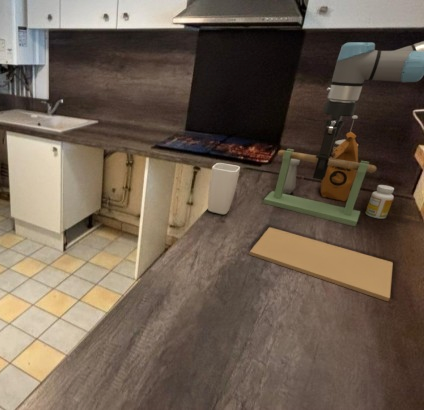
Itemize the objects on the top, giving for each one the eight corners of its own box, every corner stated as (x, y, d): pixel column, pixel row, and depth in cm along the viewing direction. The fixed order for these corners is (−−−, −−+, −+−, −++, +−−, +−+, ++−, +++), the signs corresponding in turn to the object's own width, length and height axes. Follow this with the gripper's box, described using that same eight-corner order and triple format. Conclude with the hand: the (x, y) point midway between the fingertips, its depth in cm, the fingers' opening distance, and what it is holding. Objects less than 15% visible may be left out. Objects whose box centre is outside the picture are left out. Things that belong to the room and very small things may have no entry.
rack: (358, 215, 113) (378, 161, 106) (355, 226, 106) (376, 168, 99) (271, 195, 128) (283, 145, 121) (263, 203, 121) (275, 151, 114)
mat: (391, 265, 87) (392, 262, 86) (388, 302, 74) (390, 298, 74) (268, 230, 103) (269, 227, 103) (248, 254, 91) (249, 251, 90)
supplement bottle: (384, 214, 115) (395, 186, 111) (387, 220, 110) (398, 191, 107) (364, 210, 117) (374, 182, 113) (365, 216, 113) (376, 187, 109)
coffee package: (314, 196, 128) (333, 135, 119) (319, 186, 137) (336, 129, 128) (348, 203, 123) (369, 140, 114) (350, 193, 132) (371, 133, 123)
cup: (203, 212, 114) (210, 167, 108) (209, 204, 119) (217, 162, 113) (226, 218, 110) (236, 172, 104) (232, 210, 116) (241, 166, 110)
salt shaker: (277, 187, 135) (285, 154, 130) (294, 190, 133) (303, 157, 127) (275, 192, 131) (284, 158, 125) (293, 195, 128) (302, 161, 123)
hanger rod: (375, 172, 104) (377, 165, 103) (374, 174, 103) (377, 166, 102) (278, 155, 120) (279, 148, 119) (276, 156, 118) (277, 150, 117)
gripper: (330, 97, 111) (309, 169, 120) (322, 101, 100) (300, 180, 110) (359, 99, 107) (336, 174, 116) (354, 104, 96) (328, 186, 105)
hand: (318, 177), depth 113 cm, fingers closed on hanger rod, 2 cm apart
